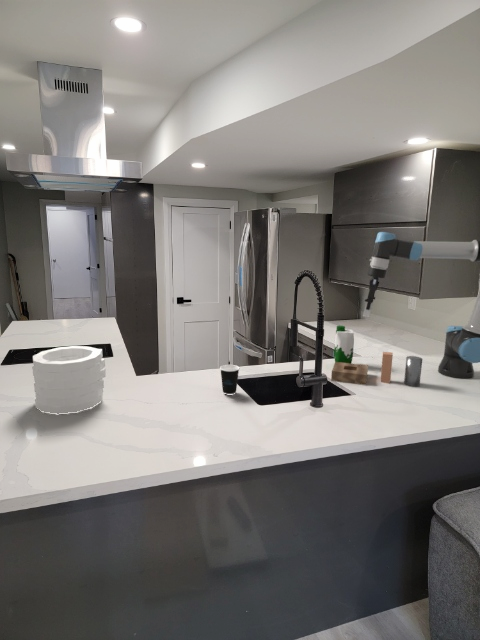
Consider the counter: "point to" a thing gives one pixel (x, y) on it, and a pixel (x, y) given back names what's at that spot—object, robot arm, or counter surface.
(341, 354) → the milk carton
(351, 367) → the socket block
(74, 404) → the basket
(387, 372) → the square peg
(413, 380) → the round post
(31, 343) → the counter surface
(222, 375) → the dixie cup
